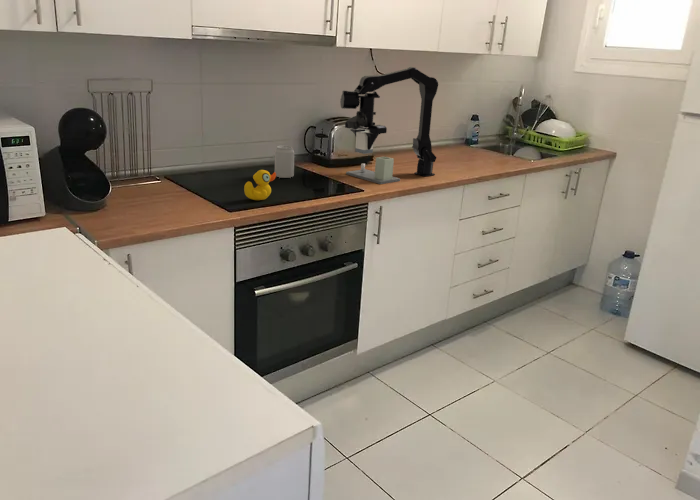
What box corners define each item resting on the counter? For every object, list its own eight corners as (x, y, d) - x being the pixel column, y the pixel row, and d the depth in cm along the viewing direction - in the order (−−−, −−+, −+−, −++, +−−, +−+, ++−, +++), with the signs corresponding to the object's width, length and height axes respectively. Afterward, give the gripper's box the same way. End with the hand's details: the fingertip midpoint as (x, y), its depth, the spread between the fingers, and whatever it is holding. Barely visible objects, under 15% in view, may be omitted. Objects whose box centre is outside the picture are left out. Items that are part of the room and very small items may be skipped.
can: (290, 180, 224) (291, 149, 220) (271, 178, 225) (272, 147, 221) (296, 176, 231) (296, 145, 227) (278, 174, 232) (278, 144, 228)
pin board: (365, 171, 246) (366, 150, 243) (399, 181, 233) (401, 158, 229) (346, 174, 239) (347, 152, 236) (380, 184, 225) (382, 161, 222)
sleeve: (364, 150, 240) (365, 131, 237) (372, 152, 237) (373, 132, 234) (355, 151, 237) (356, 131, 234) (363, 153, 233) (364, 133, 231)
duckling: (271, 196, 200) (272, 167, 197) (279, 199, 196) (279, 170, 193) (241, 199, 194) (241, 169, 190) (248, 203, 190) (248, 173, 186)
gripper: (335, 107, 232) (334, 146, 237) (368, 112, 219) (365, 154, 225) (356, 106, 239) (354, 144, 245) (388, 111, 227) (386, 151, 232)
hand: (364, 148), depth 236 cm, fingers closed on sleeve, 5 cm apart
